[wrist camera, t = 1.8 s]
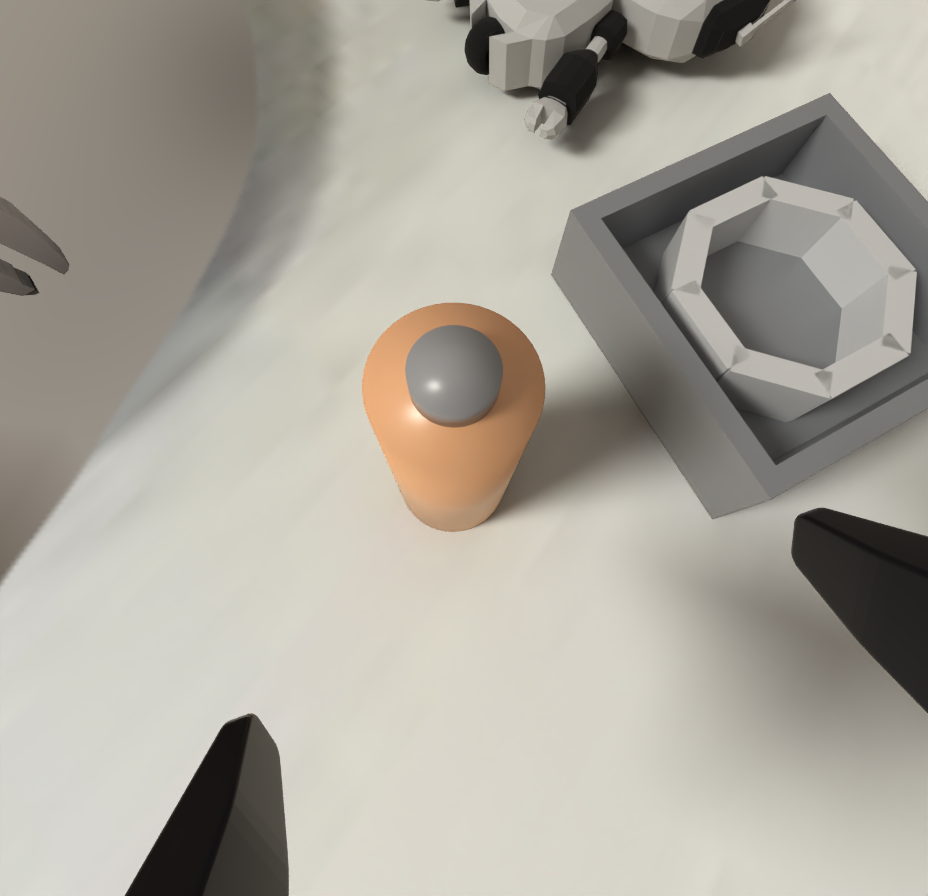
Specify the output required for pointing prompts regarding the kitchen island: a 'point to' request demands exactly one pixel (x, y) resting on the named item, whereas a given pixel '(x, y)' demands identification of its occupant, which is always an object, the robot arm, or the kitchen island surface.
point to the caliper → (25, 250)
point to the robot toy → (594, 42)
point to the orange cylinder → (453, 409)
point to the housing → (760, 301)
